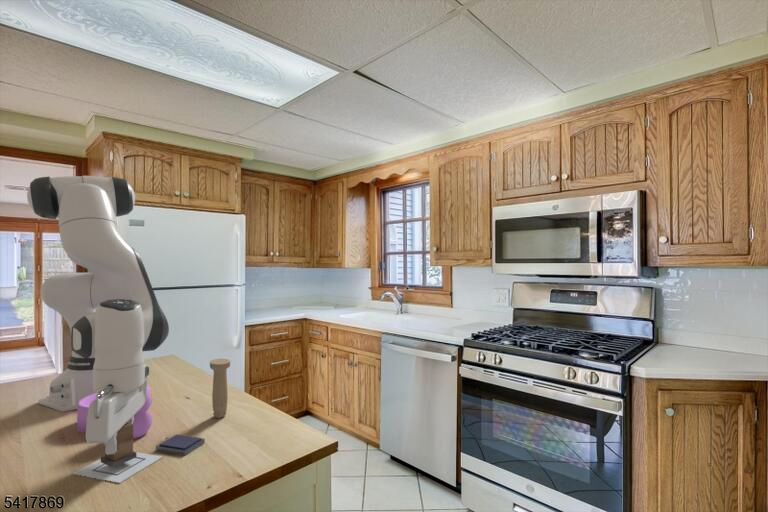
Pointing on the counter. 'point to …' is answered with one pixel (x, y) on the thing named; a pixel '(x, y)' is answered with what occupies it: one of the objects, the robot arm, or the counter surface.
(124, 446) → the stamp
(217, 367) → the handle
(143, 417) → the container set
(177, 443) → the ink tin
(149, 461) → the card
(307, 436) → the counter surface
